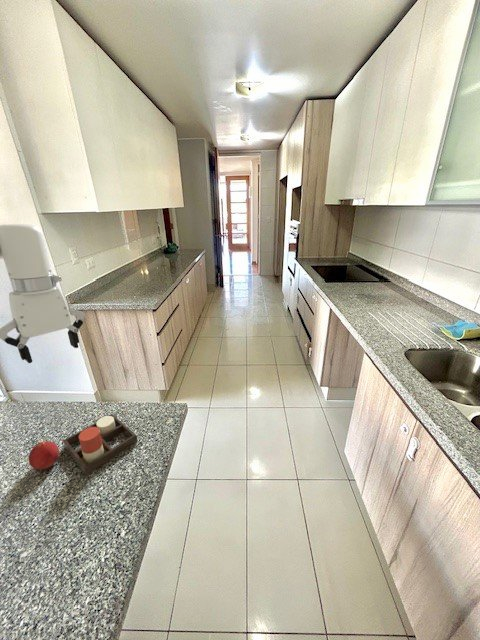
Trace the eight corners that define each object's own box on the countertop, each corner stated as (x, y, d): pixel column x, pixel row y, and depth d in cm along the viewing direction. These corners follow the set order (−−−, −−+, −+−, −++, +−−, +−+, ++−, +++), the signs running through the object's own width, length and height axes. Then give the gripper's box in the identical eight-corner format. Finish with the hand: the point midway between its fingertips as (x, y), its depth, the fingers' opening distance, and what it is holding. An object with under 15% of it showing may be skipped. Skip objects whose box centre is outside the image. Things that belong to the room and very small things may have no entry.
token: (96, 433, 73) (93, 422, 71) (111, 424, 76) (109, 413, 74) (103, 441, 70) (101, 429, 69) (119, 431, 73) (117, 420, 72)
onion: (28, 480, 60) (18, 454, 57) (39, 459, 65) (30, 435, 62) (57, 474, 62) (48, 448, 59) (65, 454, 67) (58, 430, 64)
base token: (81, 459, 64) (78, 447, 63) (99, 448, 68) (97, 436, 66) (89, 469, 62) (86, 457, 60) (108, 457, 65) (105, 445, 64)
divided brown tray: (65, 449, 68) (62, 440, 67) (113, 422, 78) (112, 413, 77) (87, 478, 61) (84, 468, 60) (137, 443, 70) (136, 435, 69)
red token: (78, 447, 63) (75, 434, 62) (97, 436, 66) (94, 424, 65) (86, 457, 60) (83, 443, 59) (105, 445, 64) (102, 432, 62)
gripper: (70, 276, 65) (84, 337, 71) (-24, 288, 53) (3, 362, 59) (83, 280, 61) (96, 345, 67) (-16, 294, 48) (12, 373, 54)
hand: (53, 353), depth 63 cm, fingers open, 9 cm apart
